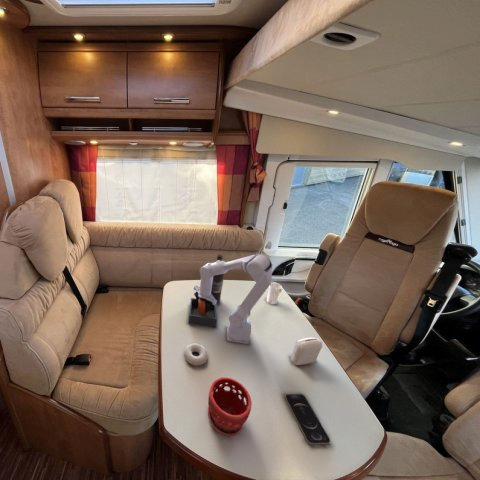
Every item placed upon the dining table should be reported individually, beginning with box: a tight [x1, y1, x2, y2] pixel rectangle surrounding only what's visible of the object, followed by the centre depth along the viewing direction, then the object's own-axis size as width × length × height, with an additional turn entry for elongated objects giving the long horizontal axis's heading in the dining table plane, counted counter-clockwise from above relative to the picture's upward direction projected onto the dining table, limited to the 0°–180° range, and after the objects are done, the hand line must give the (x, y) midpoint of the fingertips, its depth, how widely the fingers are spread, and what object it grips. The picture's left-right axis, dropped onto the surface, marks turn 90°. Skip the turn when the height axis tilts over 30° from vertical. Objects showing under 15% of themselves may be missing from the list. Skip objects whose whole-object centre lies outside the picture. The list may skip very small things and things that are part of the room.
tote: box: [187, 297, 218, 329], centre depth 122 cm, size 14×14×5 cm
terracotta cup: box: [198, 298, 208, 314], centre depth 120 cm, size 5×5×8 cm
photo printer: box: [290, 337, 323, 366], centre depth 97 cm, size 10×4×12 cm, turn 100°
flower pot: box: [207, 376, 253, 437], centre depth 77 cm, size 13×13×12 cm
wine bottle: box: [211, 254, 225, 306], centre depth 127 cm, size 7×7×30 cm
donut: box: [183, 343, 208, 366], centre depth 100 cm, size 10×4×10 cm
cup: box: [266, 281, 283, 305], centre depth 132 cm, size 7×7×11 cm
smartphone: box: [284, 393, 331, 446], centre depth 80 cm, size 8×1×15 cm
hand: (203, 307), depth 121 cm, fingers closed on terracotta cup, 5 cm apart
